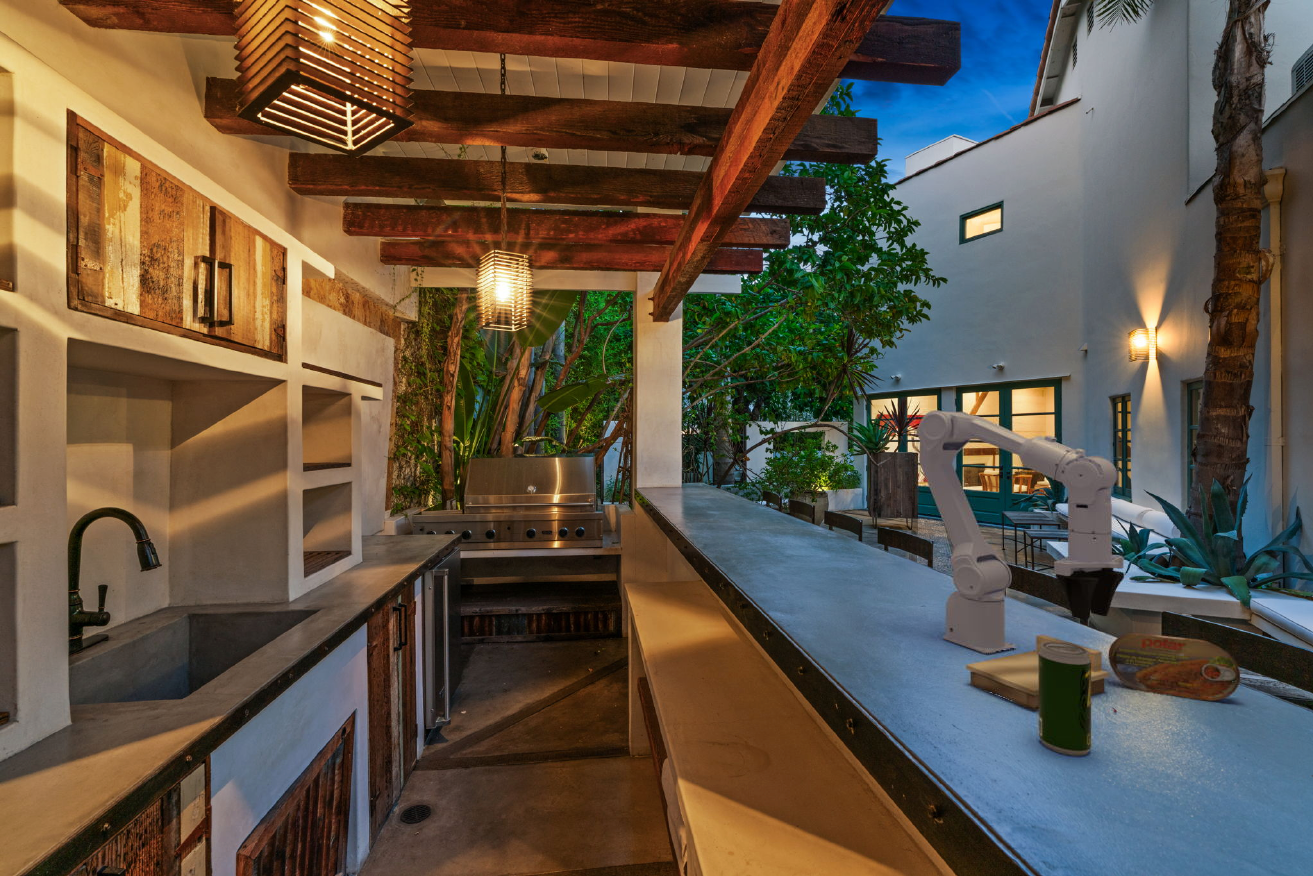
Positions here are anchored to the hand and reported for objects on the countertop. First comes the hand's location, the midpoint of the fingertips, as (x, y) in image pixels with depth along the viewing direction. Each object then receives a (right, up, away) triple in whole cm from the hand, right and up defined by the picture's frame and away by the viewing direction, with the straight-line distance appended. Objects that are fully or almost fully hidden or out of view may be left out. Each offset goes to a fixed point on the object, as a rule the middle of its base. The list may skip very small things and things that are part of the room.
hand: (1089, 616), depth 98 cm
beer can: (-19, -9, -23) cm, 31 cm away
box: (-12, -9, -5) cm, 16 cm away
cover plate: (-12, -7, -5) cm, 15 cm away
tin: (+7, -10, -7) cm, 14 cm away
